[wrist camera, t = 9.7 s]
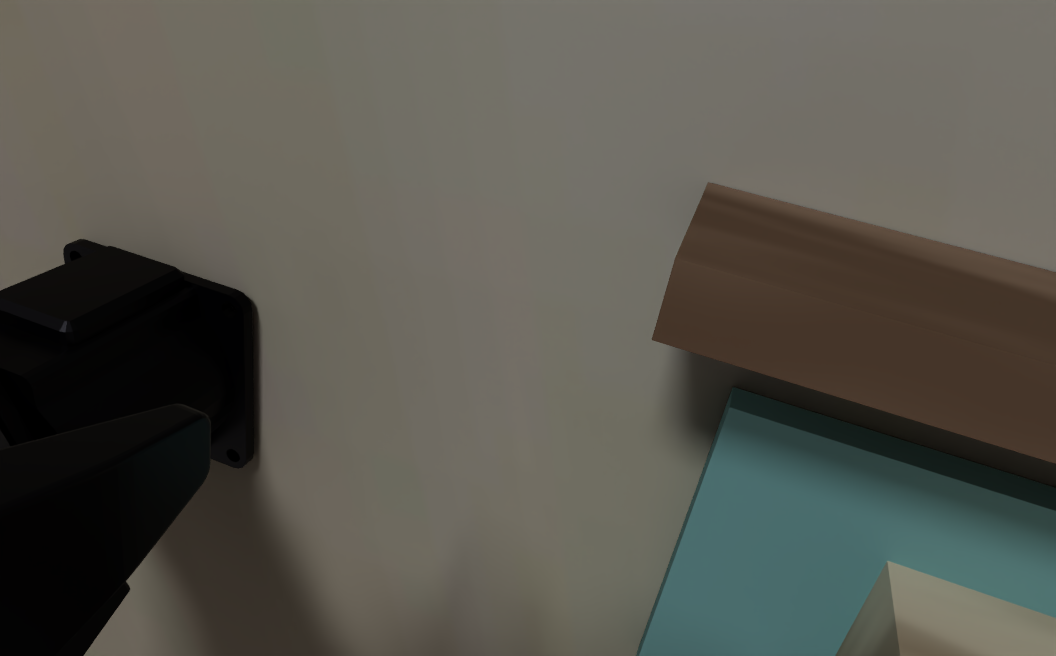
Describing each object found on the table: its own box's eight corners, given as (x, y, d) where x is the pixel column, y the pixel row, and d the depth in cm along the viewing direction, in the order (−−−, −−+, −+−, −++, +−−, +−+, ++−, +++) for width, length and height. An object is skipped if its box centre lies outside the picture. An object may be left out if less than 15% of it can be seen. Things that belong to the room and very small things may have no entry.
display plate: (1128, 842, 21) (1141, 880, 20) (637, 650, 24) (631, 676, 23) (1387, 591, 16) (1421, 627, 15) (732, 386, 19) (729, 407, 18)
